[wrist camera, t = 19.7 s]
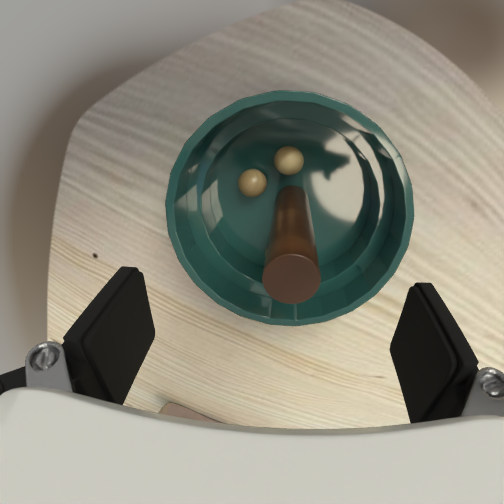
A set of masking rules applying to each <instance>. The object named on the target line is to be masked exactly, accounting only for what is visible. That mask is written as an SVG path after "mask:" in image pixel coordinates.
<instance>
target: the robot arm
mask: <svg viewBox="0 0 504 504" xmlns="http://www.w3.org/2000/svg"><path fill="white" fill-rule="evenodd" d="M154 338H155V328H154V324H153V319H152V315H151V310H150V305H149V301H148V296H147V291H146V286H145V281H144V276H143V273H142V272H139V270H138V268H136V267H124V266H123V267H121V268H120V269H119V270H118V271H117V272H116V273H115V274H114V276H113V277H112V278H111V279H110V280H109V281H108V283H107V284H106V285H105V286H104V287H103V288H102V290H101V291H100V292H99V293H98V294H97V296H96V297H95V298H94V299H93V300H92V302H91V303H90V304H89V305H88V307H87V308H86V309H85V310H84V312H83V313H82V314H81V315H80V317H79V318H78V319H77V320H76V322H75V323H74V324H73V325H72V327H71V328H70V329H69V330H68V332H67V333H66V334H65V336H64V337H63V339H64V343H63V344H62V345H60V344H59V343H56V342H51V341H48V342H43V343H40V344H38V345H36V346H35V347H33V348H32V349H31V350H30V351H29V353H28V354H27V356H26V360H25V366H24V367H21V368H19V369H16V370H13V371H10V372H8V373H5V374H2V375H0V504H504V374H503V373H502V372H501V371H499V370H497V369H495V368H490V367H486V368H482V369H481V370H479V369H478V367H477V364H478V363H479V362H478V360H477V358H476V356H475V354H474V352H473V350H472V349H471V347H470V345H469V343H468V342H467V340H466V338H465V336H464V335H463V333H462V331H461V329H460V328H459V326H458V324H457V323H456V321H455V319H454V318H453V316H452V314H451V313H450V311H449V310H448V308H447V306H446V305H445V303H444V302H443V300H442V298H441V297H440V295H439V294H438V292H437V291H436V289H435V288H434V286H433V285H432V284H431V283H415V284H414V286H412V287H410V288H409V291H408V294H407V298H406V301H405V304H404V307H403V310H402V313H401V316H400V319H399V322H398V325H397V328H396V330H395V333H394V336H393V339H392V341H391V345H390V353H391V357H392V360H393V363H394V366H395V369H396V373H397V376H398V379H399V383H400V386H401V390H402V393H403V397H404V400H405V404H406V407H407V411H408V415H409V419H410V423H411V424H401V425H392V426H381V427H368V428H349V429H286V428H267V427H253V426H241V425H232V424H223V423H215V422H207V421H200V420H193V419H187V418H181V417H175V416H170V415H164V414H159V413H154V412H150V411H145V410H141V409H136V408H132V407H128V406H123V403H124V401H125V399H126V396H127V394H128V392H129V390H130V388H131V386H132V384H133V381H134V379H135V377H136V375H137V373H138V371H139V369H140V367H141V365H142V363H143V361H144V359H145V357H146V354H147V352H148V350H149V348H150V346H151V344H152V342H153V340H154Z"/></svg>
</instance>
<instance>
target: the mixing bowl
mask: <svg viewBox="0 0 504 504" xmlns="http://www.w3.org/2000/svg"><path fill="white" fill-rule="evenodd" d="M285 146H293V147H295V148H297V149H298V150H300V152H301V153H302V155H303V158H304V164H303V167H302V169H301V170H300V171H299V172H298V173H296V174H294V175H285V174H282V173H280V172H279V171H278V170H277V168H276V167H275V164H274V156H275V154H276V152H277V151H278V150H279V149H280V148H282V147H285ZM248 169H257V170H259V171H261V172H262V173H263V174H264V175H265V177H266V180H267V186H266V189H265V191H264V192H263V193H262V194H261V195H260V196H257V197H247V196H245V195H244V194H242V193H241V191H240V190H239V187H238V179H239V176H240V175H241V174H242V173H243V172H244V171H245V170H248ZM289 185H295V186H298V187H300V188H302V189H303V190H304V191H305V192H306V194H307V196H308V200H309V206H310V212H311V217H312V223H313V229H314V235H315V242H316V248H317V254H318V261H319V268H320V275H321V282H320V286H319V288H318V290H317V292H316V293H315V294H314V295H313V296H312V297H311V298H310V299H308V300H306V301H304V302H301V303H297V304H286V303H282V302H279V301H277V300H275V299H273V298H272V297H271V296H270V295H269V294H268V293H267V292H266V290H265V288H264V286H263V282H262V275H263V269H264V264H265V251H266V249H267V246H268V241H269V235H270V229H271V223H272V217H273V211H274V205H275V199H276V195H277V193H278V192H279V191H280V190H281V189H282V188H283V187H285V186H289ZM165 202H166V203H165V206H166V217H167V227H168V234H169V237H170V239H171V242H172V245H173V247H174V250H175V253H176V255H177V258H178V260H179V262H180V263H181V265H182V266H183V268H184V269H185V271H186V272H187V273H188V275H189V276H190V278H191V279H192V281H193V282H194V283H195V284H196V285H197V286H198V287H199V288H200V289H201V290H202V291H203V292H205V293H206V294H207V295H208V296H209V297H210V298H211V299H213V300H214V301H215V302H217V304H219V305H221V306H223V307H225V308H226V309H228V310H230V311H232V312H234V313H236V314H237V315H239V316H242V317H245V318H248V319H252V320H255V321H259V322H262V323H266V324H269V325H284V326H302V325H308V324H315V323H321V322H326V321H329V320H331V319H334V318H337V317H339V316H342V315H344V314H347V313H349V312H351V311H353V310H355V309H356V308H358V307H359V306H361V305H362V304H364V303H365V302H367V301H368V300H369V299H371V298H372V297H374V296H375V295H376V294H377V293H378V292H379V291H380V290H381V288H382V287H383V286H384V285H385V284H386V283H387V282H388V281H389V279H390V278H391V277H392V276H393V275H394V273H395V272H396V270H397V268H398V266H399V264H400V262H401V260H402V258H403V256H404V254H405V252H406V250H407V248H408V245H409V241H410V236H411V231H412V226H413V221H414V204H413V190H412V184H411V181H410V178H409V176H408V173H407V170H406V168H405V165H404V162H403V160H402V157H401V155H400V153H399V152H398V150H397V149H396V148H395V146H394V145H393V144H392V142H391V141H390V140H389V138H388V137H387V136H386V134H385V133H384V132H383V131H382V129H381V128H380V127H379V126H378V125H377V124H375V123H374V122H373V121H371V120H370V119H369V118H367V117H366V116H365V115H363V114H362V113H361V112H359V111H358V110H356V109H355V108H354V107H352V106H350V105H349V104H346V103H344V102H341V101H338V100H335V99H333V98H330V97H327V96H324V95H321V94H318V93H314V92H303V91H284V90H277V91H271V92H267V93H263V94H258V95H254V96H250V97H246V98H242V99H241V100H238V101H236V102H234V103H233V104H231V105H229V106H227V107H226V108H224V109H222V110H220V111H219V112H217V113H215V114H214V115H212V116H210V118H208V119H207V120H206V121H205V122H204V123H203V124H202V125H201V126H200V127H199V128H198V129H197V130H196V131H195V133H194V134H193V135H192V136H191V137H190V138H189V139H188V140H187V141H186V143H185V144H184V146H183V148H182V150H181V152H180V154H179V156H178V158H177V160H176V162H175V164H174V166H173V168H172V170H171V173H170V179H169V184H168V189H167V195H166V201H165Z"/></svg>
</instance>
